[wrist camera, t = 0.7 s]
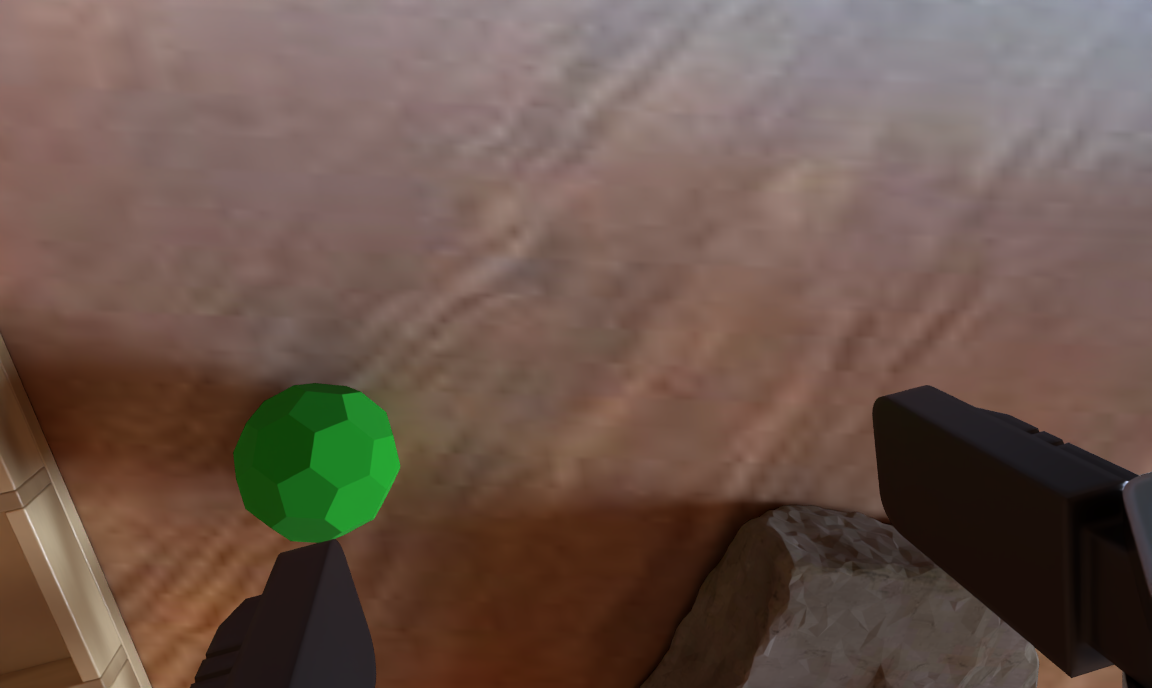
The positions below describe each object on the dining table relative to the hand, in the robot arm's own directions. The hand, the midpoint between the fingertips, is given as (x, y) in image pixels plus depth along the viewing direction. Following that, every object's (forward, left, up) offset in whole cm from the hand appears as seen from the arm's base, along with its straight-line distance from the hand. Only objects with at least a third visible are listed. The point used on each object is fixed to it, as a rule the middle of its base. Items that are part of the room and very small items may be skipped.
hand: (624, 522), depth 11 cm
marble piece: (+18, +9, -16) cm, 26 cm away
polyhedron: (+3, -7, -16) cm, 18 cm away
